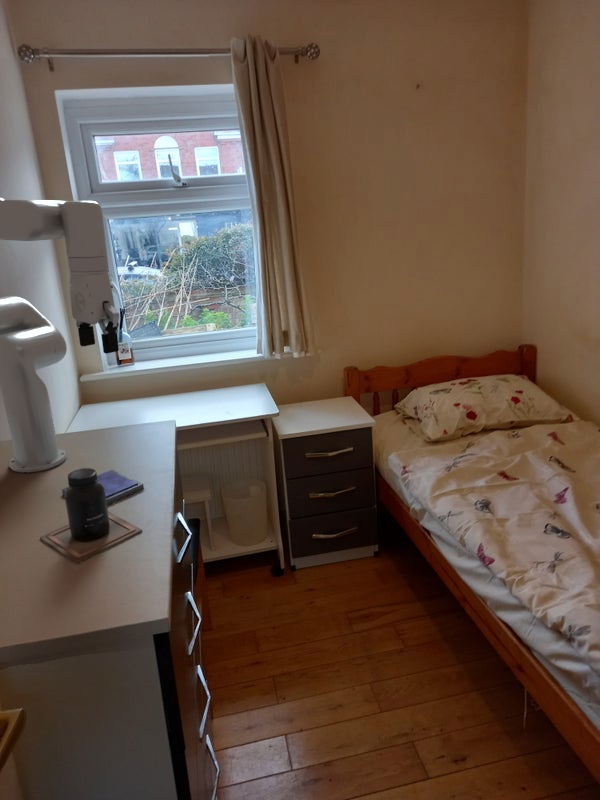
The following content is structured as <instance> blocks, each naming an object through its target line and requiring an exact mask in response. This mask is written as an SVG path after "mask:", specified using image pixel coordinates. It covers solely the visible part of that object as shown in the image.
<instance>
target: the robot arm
mask: <svg viewBox="0 0 600 800" xmlns="http://www.w3.org/2000/svg"><path fill="white" fill-rule="evenodd" d="M105 233H106V232H105V226H104V217H103V211H102V206H101V205H100V203H99V202H97V201H94V200H59V199H58V200H57V199H55V200H53V199H4V198H2V197H0V240H1V241H18V242H19V241H21V242H38V241H47V240H65V241H64V243H65V249H66V257H67V263H68V270H69V292H70V293H69V294H70V295H69V297H70V305H71V306H70V307H71V314H72V318H73V319H74V320H75V321H76V328H77V332H78V340H79V346H81V347H88V346H93V345H95V344H96V339H95V338H96V337H95V331H94V326H93V325H97V324H98V326H99V327H100V329H101V331H102V333H101V342H102V343H101V344H102V350H103V353H104V354H112V353H117V352H119V350H120V348H119V347H120V346H119V339H118V338H119V337H118V332H119V325H120V323H119V320H120V313H119V312H118V311H117V310H116V309H115V301H114V296H113V295H114V294H113V289H112V288H113V287H112V284H111V280H110V276H109V273H110V269H109V259H108V258H109V257H108V253H107V252H108V251H107V242H106V235H105ZM106 324H107V325H106ZM66 355H67V342H66V340H65V337H64V335H62V333H61V331H60V330H59V329H58V328H57V327H56V326H55V325H54V324H53V323H51V321H49V320H48V318H47V317H45V316H44V315H43V314H42V313H41V312H40V311H39V310H38V309H37V308H36V307H35V306H34V305H33V304H32V303H31V302H29V301H28V300H27V299H25V298H22V297H21V296H15V295H5V296H0V392H1V396H2V401H3V405H4V409H5V414H6V419H7V423H8V424H7V425H8V428H9V429H8V430H9V434H10V439H11V443H12V448H13V453H14V457H12V458H11V459H10V460H9V462H8V465H9V468H11V469H12V470H11V469H10V470H11V471H13V472H16V473H25V472H26V473H35V472H42V471H46V470H49V469H52V468H54V467H57V466H58V465H60V464H62V463H63V462H65V460H66V459H67V453H66V451H65V450H64V449H63V448H59V447H58V446H59V445H58V440H57V436H56V434H57V433H56V430H55V429H56V428H55V424H54V419H53V412H52V407H51V402H50V396H49V392H48V388H47V385H46V384H45V382H44V381H43V380H42V379H41V378H40V376H39V375H38V373H37V371H38V370H41V369H44V368H47V367H50V366H52V365H55V364H57V363H60V362H61V361H62V360H63V359H64V358H65V356H66Z"/></svg>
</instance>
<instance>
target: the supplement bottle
mask: <svg viewBox="0 0 600 800" xmlns="http://www.w3.org/2000/svg"><path fill="white" fill-rule="evenodd" d="M97 475H98V474H97V470H95V469H94V468H89V467H88V468H87V467H85V468H79V469H75V470H73V471H71V472H69V473H68V475H67V481H68V482H67V483H68V487H69V488H68V489H67V491H66V493H65V495H64V501H65V506H66V507H65V508H66V513H67V520H68V524H69V526H70V532H71V536H72V538H73V539H75V540H77V541H81V542H88V541H93V540H97V539H99V538H101V537H103V536H105V535H106V534H107V533H108V531H109V529H110V524H109V516H108V511H109V510H108V505H107V502H106V495H105V489H104V487H103V485H102V484H100V483H99V482H98V478H97Z"/></svg>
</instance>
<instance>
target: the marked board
mask: <svg viewBox="0 0 600 800" xmlns="http://www.w3.org/2000/svg"><path fill="white" fill-rule="evenodd" d="M108 516H109V524H110V529H109V531H108V533H107V534H106V535H105V536H103V537H101V538H99V539H97V540H93V541H88V542H81V541H77V540H75V539H73V538H72V536H71V532H70V526H69V523H68V524H66V525H64V526H62V527H60V528H57V529H55V530H53V531H50V532H48V533H45V534H44V535H42V536H39V538H40V540H41V541H42V542H44V543H45V544H46V545H48V546H50V547H51V548H52V549H54V550H55V551H57V552H59V553H60V554H61V555H63V557H65V558H67V560H70V561H71V562H73V563H74V564H75V565H80V564H82V563H83V562H85V561H87V560H89V559H91V558H93V557H95V556H97V555H99V554H101V553H103V552H105V551H107V550H110V549H111V548H113V547H115V546H117V545H118V544H121V543H123V542H125V541H127V540H129V539H131V538H133V537H135V536H136V535H138V534H141V533H142V532H143V529H142V528H140V527H138V526H136V525H134V524H133V523H131V522H128V521H127V520H126V519H123V518H121V517H119V516H117V514H114V513H113V512H110V511H109V510H108Z"/></svg>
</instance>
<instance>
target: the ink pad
mask: <svg viewBox="0 0 600 800" xmlns="http://www.w3.org/2000/svg"><path fill="white" fill-rule="evenodd" d="M97 478H98V482H99V483H100V484H102V485H103V487H104V489H105V495H106V502H107V506H109V505H111V504H113V503H115V502H117V501H120V500H122V499H124V498H127V497H129V496H131V495H133V494H136V493H138V492H140V491H142V490H145V487H144V486H145V485H144V483H142V482H140V481H137V480H136V479H133V478H132V477H129V476H127V475H125V474H122V473H121V472H118V471H116V470H114V469H110V470H108V471H105V472H102V473H100V474H97ZM68 488H69V486H68V487H64V488H62V489H61V491H62V492H61V493H62V495H63V496H65V493H66V491H67V489H68Z"/></svg>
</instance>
